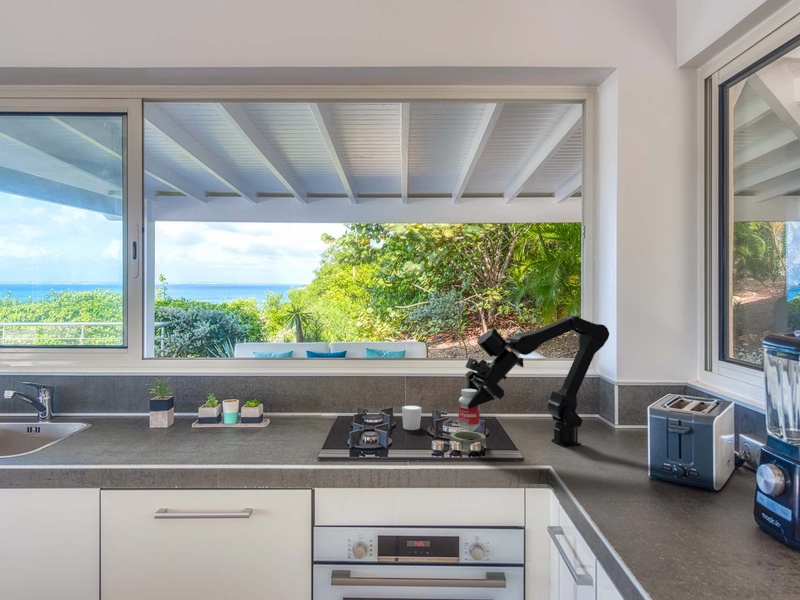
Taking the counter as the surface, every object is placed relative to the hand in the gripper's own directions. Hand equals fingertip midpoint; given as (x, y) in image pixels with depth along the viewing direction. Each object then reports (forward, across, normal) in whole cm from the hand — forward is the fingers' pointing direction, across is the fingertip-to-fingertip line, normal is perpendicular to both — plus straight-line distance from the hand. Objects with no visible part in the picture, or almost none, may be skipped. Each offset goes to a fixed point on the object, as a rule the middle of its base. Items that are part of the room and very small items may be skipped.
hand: (464, 404), depth 148 cm
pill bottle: (+4, 0, +6) cm, 7 cm away
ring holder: (+8, 0, +10) cm, 13 cm away
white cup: (+17, -23, +2) cm, 29 cm away
